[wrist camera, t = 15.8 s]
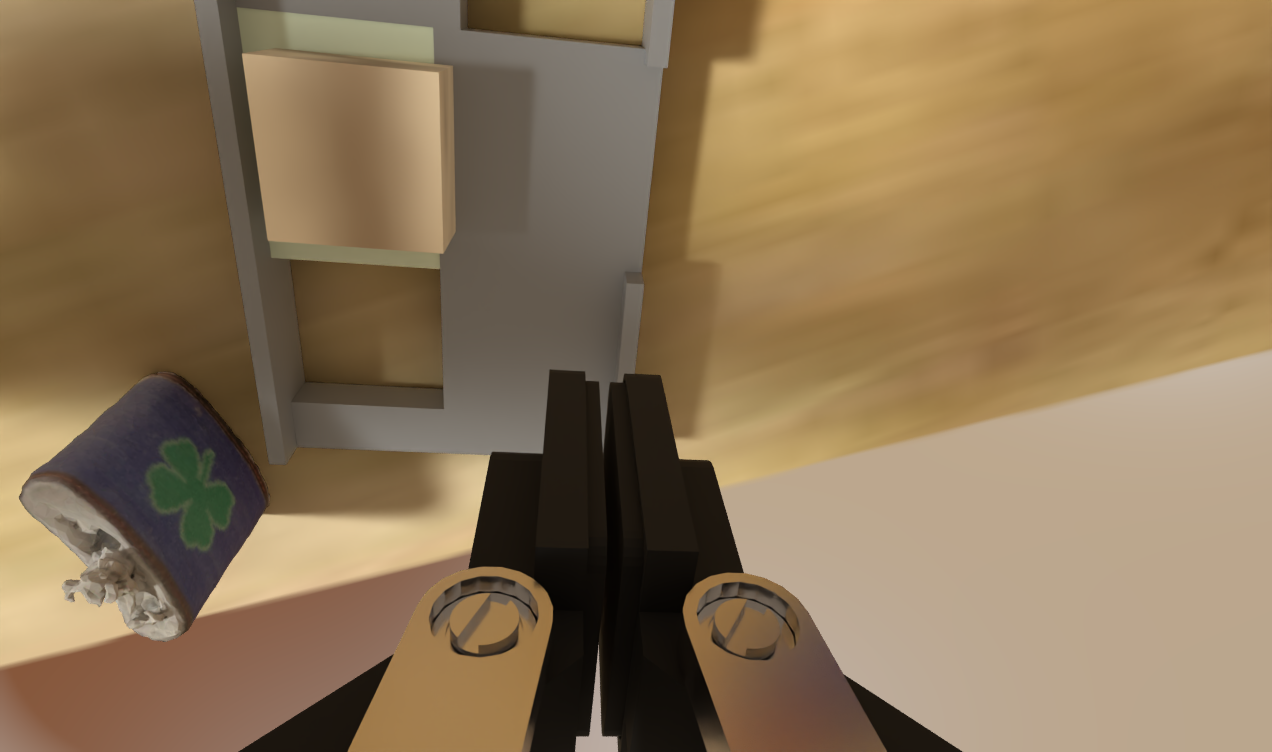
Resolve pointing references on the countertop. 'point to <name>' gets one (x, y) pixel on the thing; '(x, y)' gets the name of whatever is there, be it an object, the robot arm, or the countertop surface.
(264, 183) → the beech block
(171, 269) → the countertop surface
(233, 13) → the board
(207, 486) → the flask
